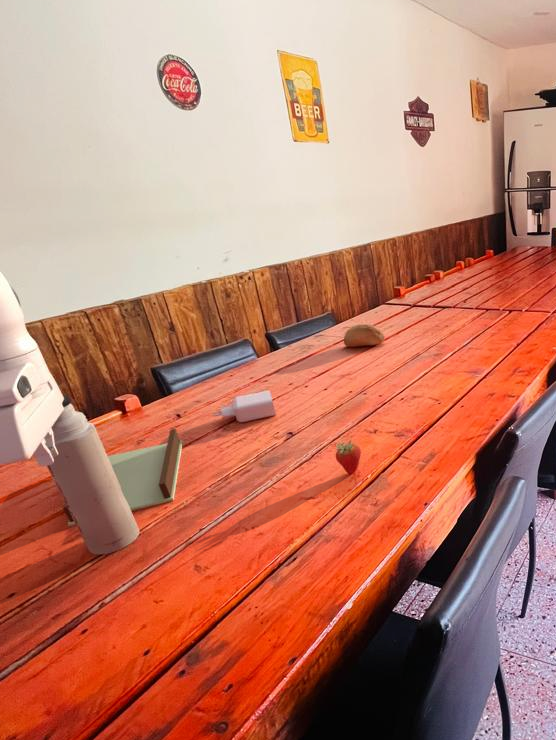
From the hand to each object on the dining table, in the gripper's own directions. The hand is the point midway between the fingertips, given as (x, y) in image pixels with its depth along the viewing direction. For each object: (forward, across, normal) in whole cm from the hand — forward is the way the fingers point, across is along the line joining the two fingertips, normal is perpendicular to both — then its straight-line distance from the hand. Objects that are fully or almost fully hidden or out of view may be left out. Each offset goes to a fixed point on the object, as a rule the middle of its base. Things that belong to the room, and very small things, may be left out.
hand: (49, 461), depth 76 cm
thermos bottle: (+22, -10, 0) cm, 24 cm away
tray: (+22, -32, 0) cm, 39 cm away
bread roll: (+22, -98, +67) cm, 121 cm away
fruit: (+22, -12, +44) cm, 51 cm away
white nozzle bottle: (+22, -54, +24) cm, 64 cm away
